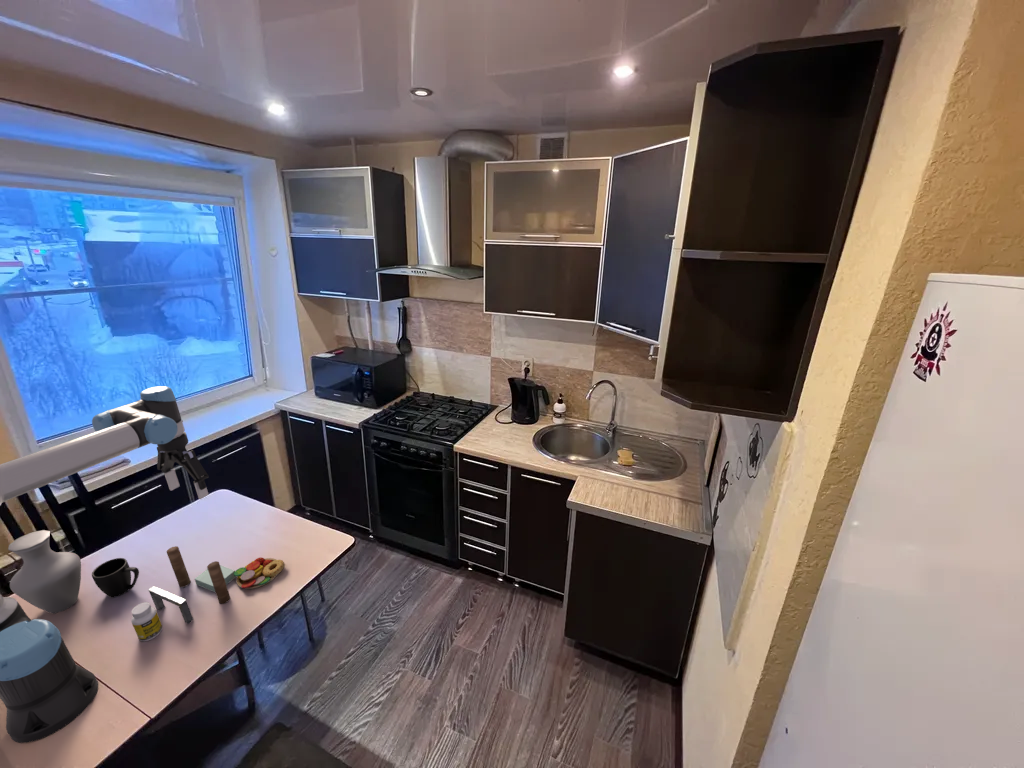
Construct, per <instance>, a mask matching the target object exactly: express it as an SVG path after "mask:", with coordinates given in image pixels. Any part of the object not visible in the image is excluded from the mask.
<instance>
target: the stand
mask: <svg viewBox="0 0 1024 768" xmlns="http://www.w3.org/2000/svg"><path fill="white" fill-rule="evenodd" d="M220 567H221V570H222V573H223V576H224V579H225V583H226V585H228V584H229V583H231V582H232V581H233V580H234V579H235V578H237V576H235V575H234V572H235V571H236V570H234V569H232V568H229V567H227V566H225V565H220ZM194 581H195V585H197V586H199V587H201V588H204V589H206V590H209V591H211V592H214V593H216V592H215V589H214V586H213V583H212V580H211V577H210V574H209V572H208V569H206V570H205V571H203V572H202V573H200V574H199V575H198V576H196V577H195V578H194Z"/></svg>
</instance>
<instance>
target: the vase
mask: <svg viewBox="0 0 1024 768" xmlns="http://www.w3.org/2000/svg"><path fill="white" fill-rule="evenodd" d="M50 534H51V531H50V530H45V529H42V530H37V531H33V532H29V533H27V534H25V535H22V536H19V537H18V538H16V539H15V540H13V542H11V543H10V544H8V549H7V550H8V551H10V552H12V553H14V554H16V555H17V556H19V557H20V558H21V559H22V561H23V564H22V567H21V568H20V569H19V570H17V571H16V573H15V574H14V575H13V576H12V577H11V579H10V582H9V588H10V590H11V591H12V593H14V594H15V595H17V596H18V597H19V598H21V599H22V600H24V601H26V602H27V603H28V604H29V605H31V606H34V607H35V608H38V609H40V610H42V611H45V612H46V613H49V614H57V613H61V612H64V611H65V610H67V609H69V608H71V607H73V606H74V605H75V603H76V602H77V601H78V600H79V599H78V598H79V594H80V588H81V579H82V561H81V558H80V556H79V555H78V554H76V553H74V552H70V551H59V552H56V551H54V550H52V549H51V547H50Z"/></svg>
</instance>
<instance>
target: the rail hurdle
mask: <svg viewBox="0 0 1024 768" xmlns="http://www.w3.org/2000/svg"><path fill="white" fill-rule="evenodd" d="M148 592H149V595H150V597H151V599H152V602H153V605H154V606H155V607H154V608H155V609H156V611H159V612H161V611H162V610H164V609H165V608H166V606H165V603H164V601H166V602H168V603H169V604H173V605H175V606H177V607H178V608H179V611H180V613H181V616H182V619H183V621H184V623H185V624H187V625H189V624H190V623H192V621H194V617H193V615H192V614H193V613H192V612H191V610H190V609H191V608H190V607H189V604H188V602H187V599H186V598H183V597H181V596H179V595H176V594H173V593H171V592H169V591H167V590H164V589H161V588H160V587H157V586H154V585H153V586H152V587H150V588H149V589H148Z"/></svg>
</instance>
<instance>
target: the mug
mask: <svg viewBox="0 0 1024 768" xmlns="http://www.w3.org/2000/svg"><path fill="white" fill-rule="evenodd" d="M132 572H133V575H134V577H133V580H132ZM139 575H140V571H139V568H138V567H135V566H130V565H129V563H128V560H127V559H126V558H123V557H117V558H113V559H110V560H106V561H105V562H103V563H101V564H99V565H98V566H97V567H95V568H94V569H93V571H92V572H91V577H92V579H93V581H94V583H95V585H96V586H97V588H98V589H99V590H100V591H101V592H102V593H104V594H105V595H106V596H107V597H108V598H117V597H120V596H122V595H124V594H126V593H127V592H128V591H129V590H133V588H134V587H135V585H136V584H137V581H138V578H139Z"/></svg>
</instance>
